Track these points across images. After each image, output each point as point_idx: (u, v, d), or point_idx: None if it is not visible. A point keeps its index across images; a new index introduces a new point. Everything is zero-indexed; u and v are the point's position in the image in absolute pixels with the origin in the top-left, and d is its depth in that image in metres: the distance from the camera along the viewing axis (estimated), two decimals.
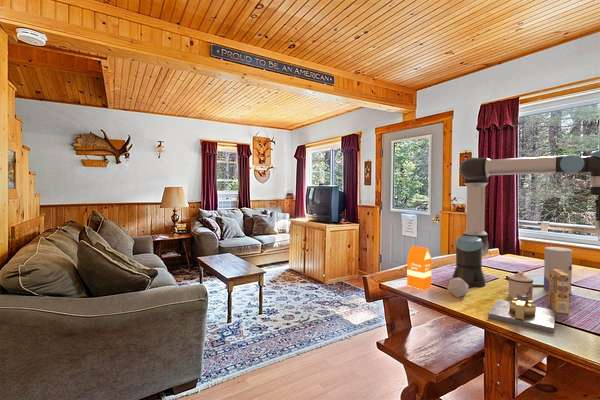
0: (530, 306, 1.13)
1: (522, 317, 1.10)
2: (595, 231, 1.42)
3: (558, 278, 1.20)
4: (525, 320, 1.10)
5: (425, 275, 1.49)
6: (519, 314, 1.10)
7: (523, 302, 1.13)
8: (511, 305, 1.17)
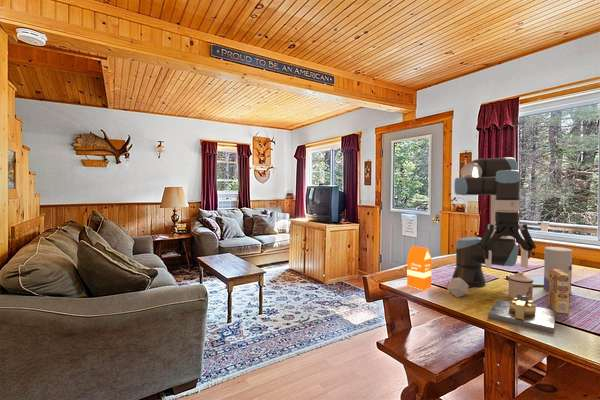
0: (530, 306, 1.13)
1: (522, 317, 1.10)
2: None
3: (558, 278, 1.20)
4: (525, 320, 1.10)
5: (425, 275, 1.49)
6: (519, 314, 1.10)
7: (523, 302, 1.13)
8: (511, 305, 1.17)
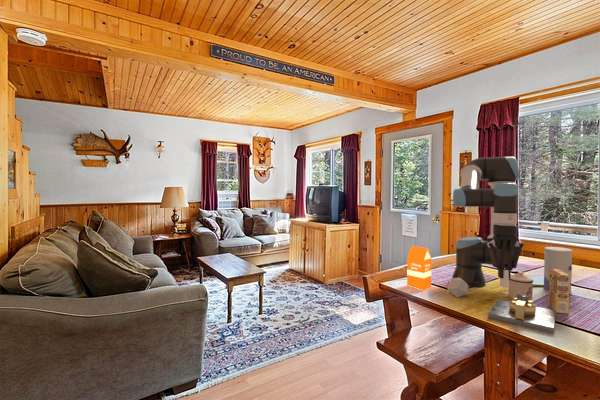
0: (530, 306, 1.13)
1: (522, 317, 1.10)
2: None
3: (558, 278, 1.20)
4: (525, 320, 1.10)
5: (425, 275, 1.49)
6: (519, 314, 1.10)
7: (523, 302, 1.13)
8: (511, 305, 1.17)
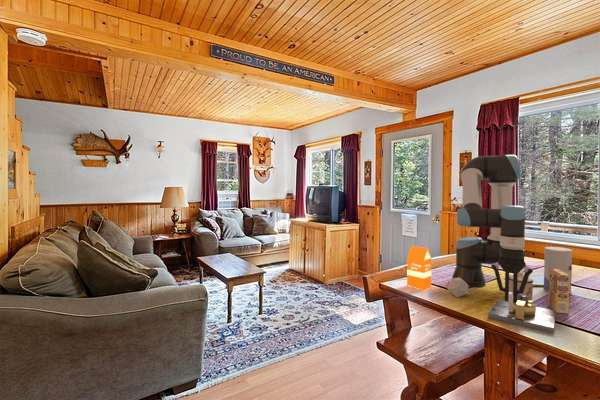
0: (530, 306, 1.13)
1: (522, 317, 1.10)
2: None
3: (558, 278, 1.20)
4: (525, 320, 1.10)
5: (425, 275, 1.49)
6: (519, 314, 1.10)
7: (523, 302, 1.13)
8: None
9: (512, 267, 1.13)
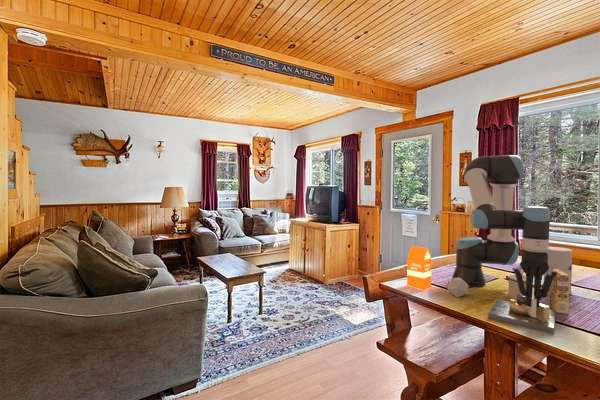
0: None
1: (548, 318, 1.09)
2: None
3: (558, 278, 1.20)
4: (525, 320, 1.10)
5: (425, 275, 1.49)
6: (546, 316, 1.08)
7: None
8: (521, 308, 1.14)
9: (536, 270, 1.09)
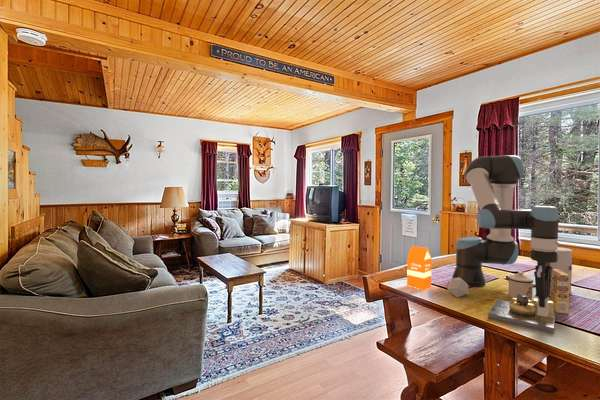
0: None
1: None
2: (538, 313, 1.11)
3: (558, 278, 1.20)
4: (525, 320, 1.10)
5: (425, 275, 1.49)
6: (552, 311, 1.13)
7: None
8: (531, 309, 1.13)
9: None
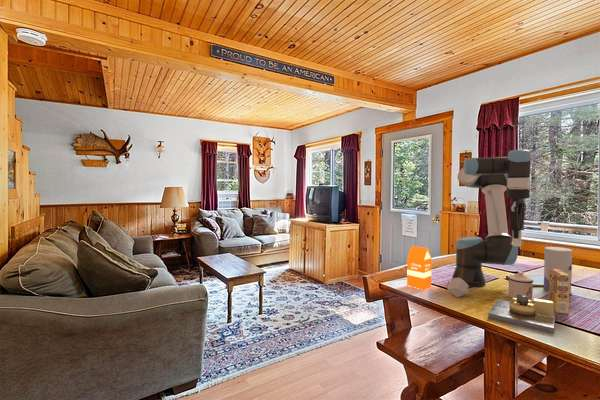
0: None
1: None
2: None
3: (558, 278, 1.20)
4: (525, 320, 1.10)
5: (425, 275, 1.49)
6: (552, 311, 1.13)
7: (539, 299, 1.15)
8: (531, 309, 1.13)
9: None
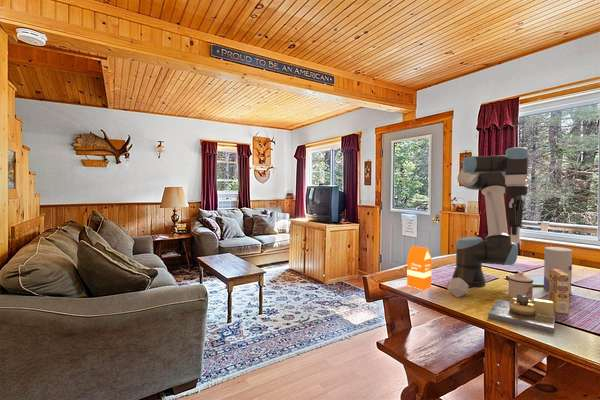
0: None
1: None
2: (511, 241, 1.29)
3: (558, 278, 1.20)
4: (525, 320, 1.10)
5: (425, 275, 1.49)
6: (552, 311, 1.13)
7: (539, 299, 1.15)
8: (531, 309, 1.13)
9: None
